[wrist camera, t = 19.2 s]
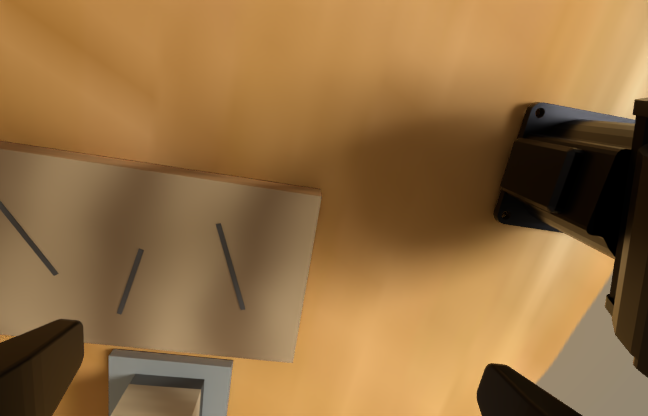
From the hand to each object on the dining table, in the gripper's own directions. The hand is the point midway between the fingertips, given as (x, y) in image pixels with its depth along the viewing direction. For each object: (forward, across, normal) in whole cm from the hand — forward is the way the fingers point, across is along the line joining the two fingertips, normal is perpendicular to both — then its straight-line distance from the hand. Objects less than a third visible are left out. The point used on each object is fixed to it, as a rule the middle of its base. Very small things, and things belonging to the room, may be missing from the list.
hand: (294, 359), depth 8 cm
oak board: (+12, +8, +4) cm, 15 cm away
